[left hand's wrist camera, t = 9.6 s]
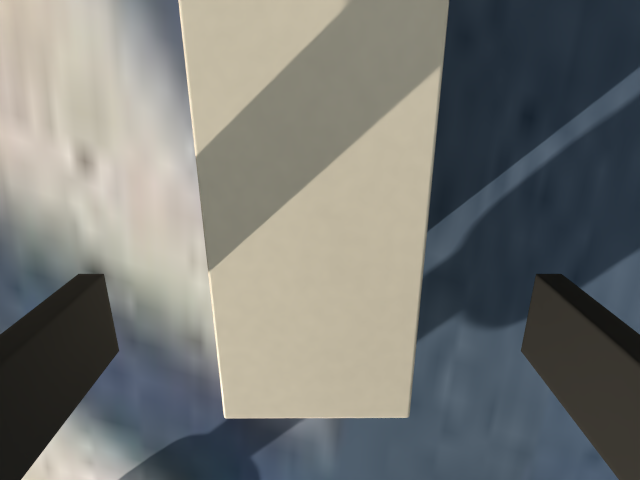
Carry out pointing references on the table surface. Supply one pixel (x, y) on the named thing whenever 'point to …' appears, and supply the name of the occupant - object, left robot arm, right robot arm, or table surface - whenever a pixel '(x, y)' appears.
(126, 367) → the table surface
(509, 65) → the table surface
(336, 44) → the cabinet
